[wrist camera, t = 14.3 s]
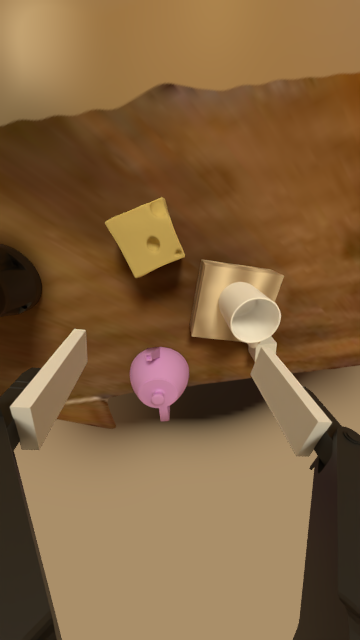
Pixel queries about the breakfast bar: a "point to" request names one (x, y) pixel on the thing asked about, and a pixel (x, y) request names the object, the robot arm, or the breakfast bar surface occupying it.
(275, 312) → the mug
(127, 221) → the cheese
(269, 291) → the oak block
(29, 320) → the breakfast bar surface
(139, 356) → the teapot
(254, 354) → the beige block
